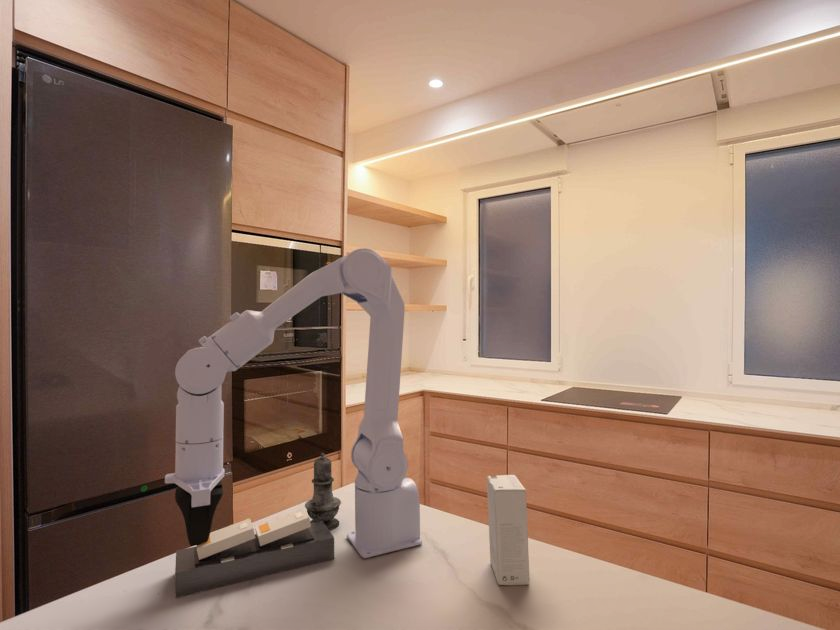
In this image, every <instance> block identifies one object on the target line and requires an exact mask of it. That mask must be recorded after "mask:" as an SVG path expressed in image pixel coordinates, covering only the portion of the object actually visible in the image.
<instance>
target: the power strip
mask: <svg viewBox="0 0 840 630" xmlns="http://www.w3.org/2000/svg"><path fill="white" fill-rule="evenodd" d="M310 524H311V527H309V528H306V529H304V530H301V531H299V532H296V533H293V534H291V535H288V536H286V537H283V538H281V539H278V540H275V541H273V542H270V543H268V544H265V545H262V546H260V544H259V541H258V538H257V535H256V533H254V534H255V538H254V539H252V540H249V541H247V542H244V543H241V544H239V545H236V546H234V547H231V548H229V549H226V550H223V551H221V552H218V553H216V554H213V555H211V556H208V557H205V558H203V559H200V560H199V557H198V553H197V545H195V546H190V547H187V548H183V549H178V550H176V551H175V566H174V567H175V568H174V570H175V572H174V573H175V574H174V581H175V591H174V592H175V597H174V598H175V599H177V598H180V597H184V596H189V595H192V594H193V595H194V594H196V593H197V594H198V593H201V592H205V591H209V590H213V589H216V588H220V587H225V586H229V585H234V584H238V583H242V582H245V581H250V580H254V579H258V578H263V577H267V576H269V575H274V574H278V573H282V572H286V571H291V570H294V569H298V568H303V567H307V566H311V565H315V564H319V563H320V564H321V563H323V562H328V561H331V560H332V561H333V560H334V559H335V537H334V535H333V534H332V533H331V530H330V531H329V529H328V528H327V526H326V525H325V524H324V522H323V521H317V522H313V523H310Z"/></svg>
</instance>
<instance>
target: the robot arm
mask: <svg viewBox="0 0 840 630" xmlns="http://www.w3.org/2000/svg"><path fill="white" fill-rule="evenodd" d="M392 272H393V271H392V265H390V264H389V263H388V262H387V260H385V258H383V257H382V256H381V255H380V254H379V253H377V251H375V250H374V249H373V250H372V249H370V248H364V247H361V248H360V247H359V248H356V249H355V250H353V251H351V252H349V254H347V255H343V256H341V257H339V258H337V259H336V260H335V261H332V262H330V263H328V264H326V265H324V266H322V267H320V268H319V269H317V270H314V271H312V272H311V273H310V274H308V275H307V276H305V277H304V278H303V279H302V280H300V281H299V282H297V284H295V285H293V286H292V287H291V288H290V289H288V290H287V291H286V292H285V293H283V294H282V295H281V296H280V297H278V298H277V299H276V300H274V301H273V302H272V303H270V304H268V306H266V307H265V308H264V309H263V310H262V311H258V310H257V311H256V310H250V309H246V310H244V311H243V312H241V313H239V312H237V311H236V312H234V313H233V314H231V315H230V316H229V317H228V318H229V320H230V321H229V322H227V323H226V324H225V325H223V326H222V327H221V328H219V329H217V330H216V331H215V332H214V333H213V334H211V335H209V336H205V335H203V336H202V337H201V338H199V339H198V343H199V344H200V345H201V346H200V347H194V348H191V349H188V350H187V351H186V352H185V353H184V354H183V355H182V356H181V357H180V358H179V360H178V361H177V363H176V366H175V369H174V373H175V379H176V382H177V384H178V385H179V386H178V390H177V393H176V399H177V403H178V404H176V405H175V464H174V465H175V466H174V467H175V469H174V472H173V473H167V474H166V475H164V484H166V485H167V484H175V485H177V486H178V487H177V488H175V494H174V500H175V502H176V505H177V506H178V508H179V509H180V511H181V513H182V515H183V519H184V524H185V530H186V535H187V540H188V544H189V546H190V547H195V546H197V545H200V544H202V543H204V542H207V541H208V539H209V535H210V533H211V530H212V526H213V520H214V516H215V512H216V510H217V507H218V505H219V503H220V501H221V499H222V497H223V494H224V489H223V481H222V479H223V478H224V477H225V475H226V474H225V472H226V471H225V468H224V422H225V421H224V420H225V419H224V416H225V415H224V413H225V411H224V410H225V403H224V401H223V400H222V393H223V392H222V388H223V387H222V384H223V383H224V381H225V378H226V375H227V373H228V372H236V371H237V370H238V369H240V368H241V367H242V366H244V365H245V364H247V363H248V362H249V361H251V360H252V359H253V358H254V357H256V356H257V355H258V354H260V353H261V352H262V351H263V350H266V348H268V347H269V346H271V345H272V344H273V342H274V338H275V332H276V331H275V330H276V329H277V328H278V327H280V326H281V325H283V324H285V322H287V321H289V320H290V319H291V318H293V317H294V316H295V315H297V314H298V313H300V312H301V311H302V310H304V309H306V308H307V307H308V306H310V305H311V304H313V303H315V302H316V301H317V300H319V299H320V298H322V297H327V296H333V295H337V294H341V295H343V296H345V297H347V298H349V299H351V300H352V301H355V302H356V303H357V304H358V305H359V306H360V307H361V308H362V310H364V312H366V313H367V314H368V315H369V318H370V320H369V331H368V333H369V335H368V346H367V347H368V350H367V361H366V362H367V365H366V379H365V394H364V406H363V407H364V410H363V418H362V420H361V422H360V423H359V425H358V433H357V437H356V439H355V441H354V443H353V445H352V448H351V450H350V459H351V462H352V464H353V466H354V467H355V469H357V475H356V477H355V479H354V515H355V516H354V519H355V520H354V522H355V524H354V525H355V527H354V529H355V530H353V531H350V532H347V533H346V538H348V539H347V540H349V542H350V543H351V544H352V546H353V547H354V548H355V549H356V551H357V552H358V553H359V555H360V556H361V557H362V558H363V559H367V558H372V557H376V556H380V555H384V554H387V553H391V552H395V551H399V550H400V551H401V550H403V549H407V548H411V547H415V546H419V545H422V544H423V539H422V538H421V513H420V512H421V507H420V505H421V504H420V502H421V501H420V495H419V491H418V487H417V484H416V483H415V481H414V480H413V479H412V478H410V477H407V476H406V475H407V473H408V468H409V463H408V458H407V456H406V453H405V450H404V437H403V434H402V430H401V428H400V424H399V421H398V418H399V405H400V404H399V402H400V401H399V400H400V389H401V388H400V387H401V386H400V385H401V375H402V373H401V371H402V360H403V359H402V356H403V343H404V342H403V340H404V327H405V325H404V324H405V310H406V306H405V302H404V300H403V297H402V295H401V293H400V291H399V289H398V287H397V284H396V281H395V280H394V277H393V273H392Z"/></svg>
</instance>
